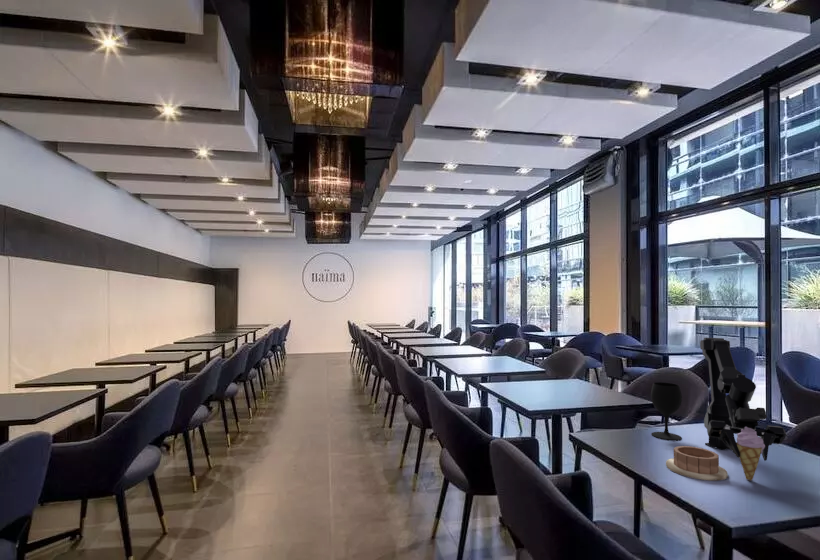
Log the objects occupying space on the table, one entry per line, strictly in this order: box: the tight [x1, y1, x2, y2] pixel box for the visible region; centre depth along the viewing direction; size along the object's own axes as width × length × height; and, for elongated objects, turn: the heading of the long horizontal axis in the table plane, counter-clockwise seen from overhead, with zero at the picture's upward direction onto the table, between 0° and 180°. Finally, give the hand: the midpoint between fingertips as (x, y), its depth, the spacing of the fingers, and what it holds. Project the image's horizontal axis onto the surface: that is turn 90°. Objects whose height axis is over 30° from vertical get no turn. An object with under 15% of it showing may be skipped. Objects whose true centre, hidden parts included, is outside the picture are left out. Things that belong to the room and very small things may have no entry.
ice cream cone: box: [736, 427, 765, 481], centre depth 133 cm, size 7×6×15 cm
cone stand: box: [665, 445, 729, 482], centre depth 140 cm, size 16×16×6 cm
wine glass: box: [650, 381, 683, 442], centre depth 175 cm, size 10×10×20 cm
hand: (752, 458), depth 131 cm, fingers closed on ice cream cone, 6 cm apart
